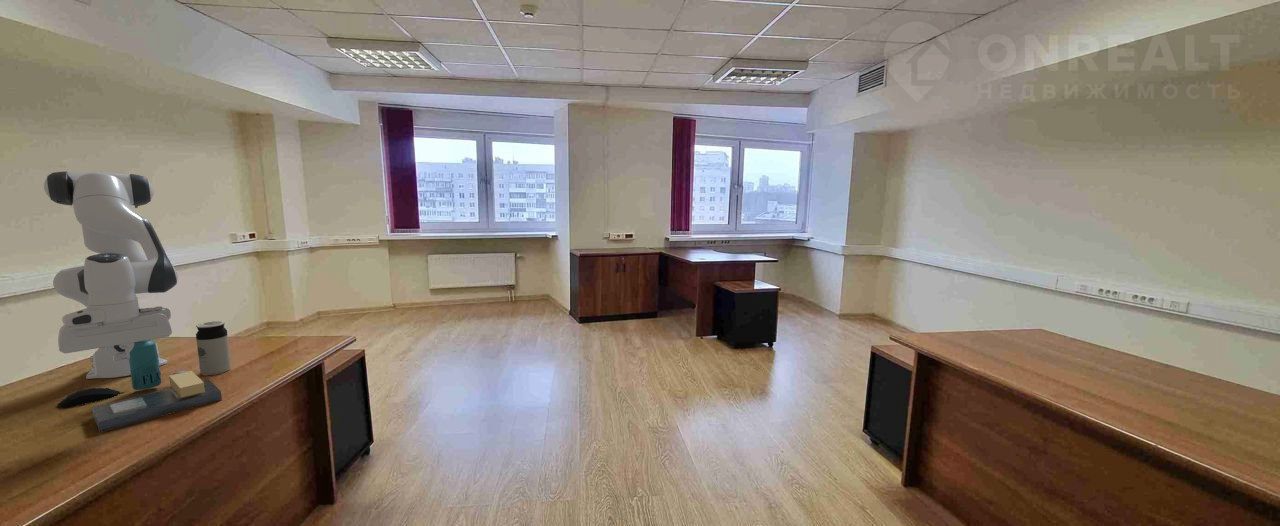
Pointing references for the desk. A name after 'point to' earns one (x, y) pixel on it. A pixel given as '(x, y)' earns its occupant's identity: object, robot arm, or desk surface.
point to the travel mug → (213, 348)
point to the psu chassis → (150, 406)
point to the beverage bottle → (144, 365)
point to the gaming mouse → (87, 396)
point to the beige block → (186, 383)
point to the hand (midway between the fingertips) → (121, 359)
